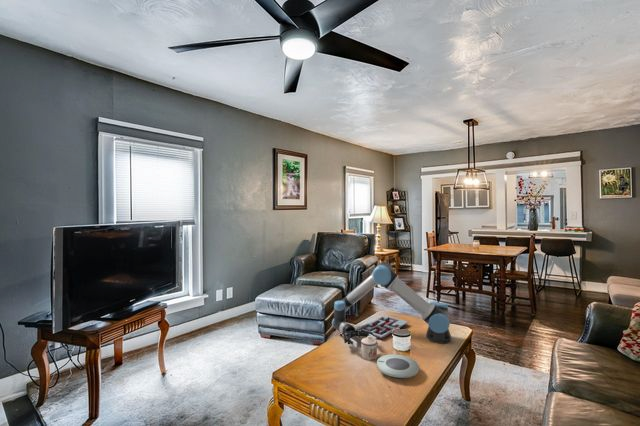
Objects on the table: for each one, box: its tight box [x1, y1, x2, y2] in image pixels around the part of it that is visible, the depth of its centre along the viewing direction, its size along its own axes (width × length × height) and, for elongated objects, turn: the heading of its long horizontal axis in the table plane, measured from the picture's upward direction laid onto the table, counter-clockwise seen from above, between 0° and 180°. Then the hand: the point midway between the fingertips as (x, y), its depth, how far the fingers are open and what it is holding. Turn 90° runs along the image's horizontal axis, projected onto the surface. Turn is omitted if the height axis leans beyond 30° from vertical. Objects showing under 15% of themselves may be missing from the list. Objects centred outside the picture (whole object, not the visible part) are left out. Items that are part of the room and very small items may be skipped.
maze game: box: [356, 314, 409, 340], centre depth 216 cm, size 35×20×3 cm, turn 136°
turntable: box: [376, 353, 420, 379], centre depth 159 cm, size 21×21×2 cm
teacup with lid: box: [360, 336, 379, 361], centre depth 177 cm, size 12×9×12 cm
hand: (366, 342), depth 180 cm, fingers open, 13 cm apart
